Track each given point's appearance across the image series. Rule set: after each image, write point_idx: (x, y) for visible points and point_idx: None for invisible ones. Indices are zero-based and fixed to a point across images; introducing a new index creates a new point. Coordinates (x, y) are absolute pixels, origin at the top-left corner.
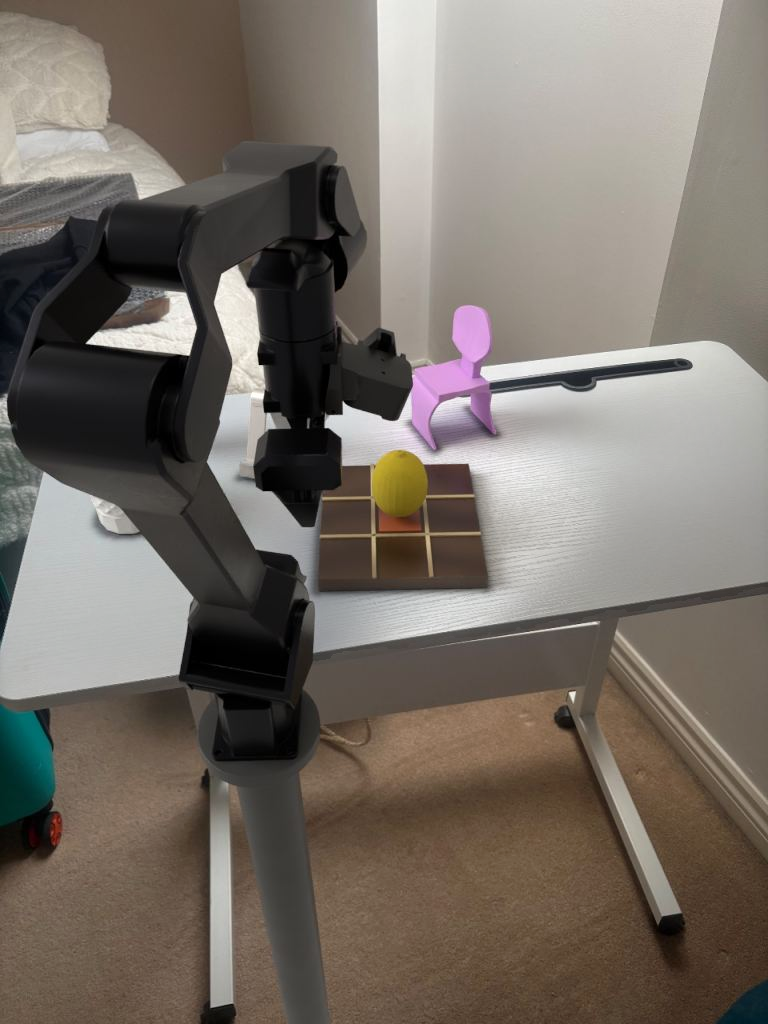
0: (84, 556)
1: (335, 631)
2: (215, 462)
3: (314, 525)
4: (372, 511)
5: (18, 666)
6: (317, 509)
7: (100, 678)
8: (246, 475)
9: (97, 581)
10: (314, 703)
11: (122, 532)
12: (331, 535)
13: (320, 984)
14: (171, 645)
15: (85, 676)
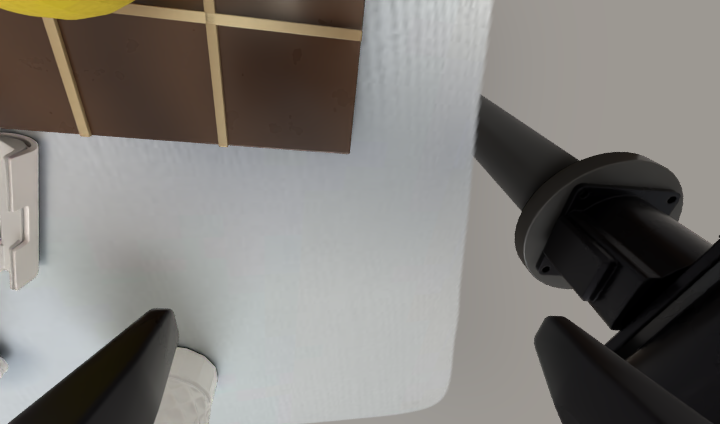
0: (259, 395)
1: (448, 119)
2: (6, 301)
3: (570, 321)
4: None
5: (412, 407)
6: (680, 401)
7: (446, 358)
8: (37, 265)
9: (302, 380)
10: (606, 166)
11: (217, 378)
12: (220, 123)
13: None
14: (417, 312)
15: (439, 367)
